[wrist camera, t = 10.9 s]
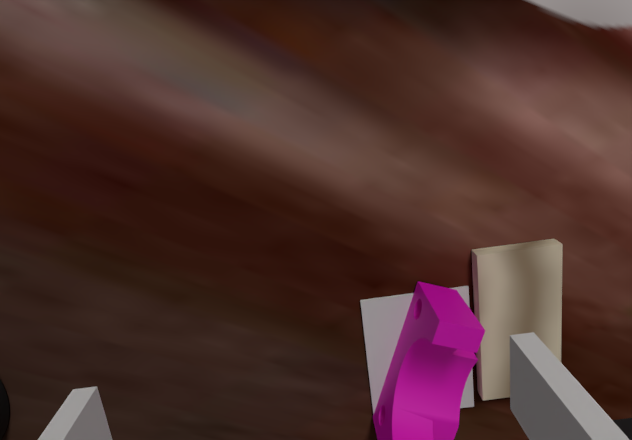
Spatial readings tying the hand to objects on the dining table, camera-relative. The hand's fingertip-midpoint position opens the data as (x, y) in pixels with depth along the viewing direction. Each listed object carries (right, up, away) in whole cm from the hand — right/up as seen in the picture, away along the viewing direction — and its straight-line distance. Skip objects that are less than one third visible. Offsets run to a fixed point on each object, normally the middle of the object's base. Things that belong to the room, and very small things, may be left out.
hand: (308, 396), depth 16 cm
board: (+19, -4, +32) cm, 37 cm away
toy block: (+11, -8, +32) cm, 35 cm away
